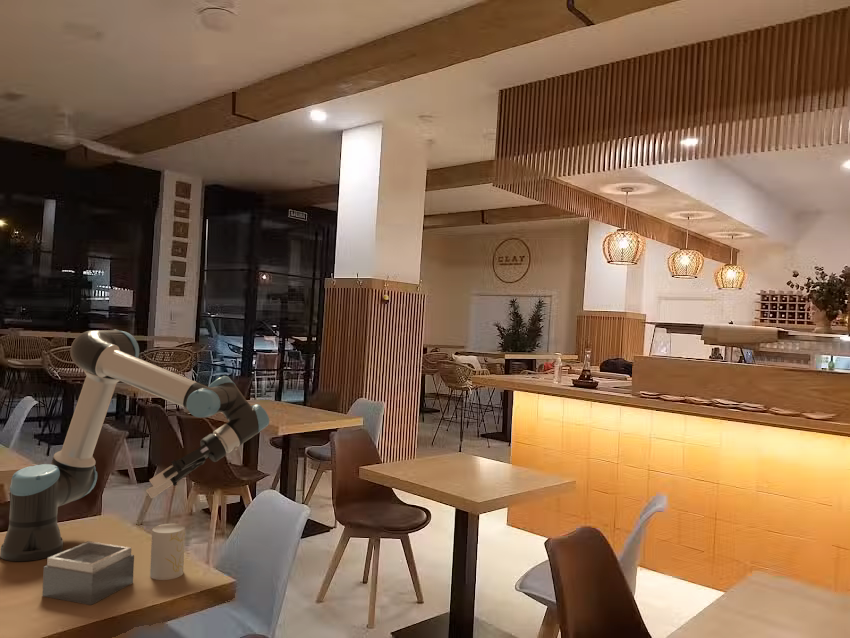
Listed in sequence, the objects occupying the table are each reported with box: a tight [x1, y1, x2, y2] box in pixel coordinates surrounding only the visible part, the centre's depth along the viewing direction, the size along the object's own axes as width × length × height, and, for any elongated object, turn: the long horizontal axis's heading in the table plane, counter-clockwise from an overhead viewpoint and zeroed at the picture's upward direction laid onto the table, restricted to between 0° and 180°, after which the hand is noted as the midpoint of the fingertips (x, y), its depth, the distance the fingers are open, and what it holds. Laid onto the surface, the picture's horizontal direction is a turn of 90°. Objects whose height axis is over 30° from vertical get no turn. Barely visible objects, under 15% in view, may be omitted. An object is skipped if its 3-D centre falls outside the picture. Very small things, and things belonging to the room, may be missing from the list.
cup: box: [149, 523, 186, 581], centre depth 173 cm, size 8×8×12 cm
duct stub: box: [42, 540, 135, 606], centre depth 161 cm, size 14×14×9 cm
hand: (150, 489), depth 173 cm, fingers open, 13 cm apart
